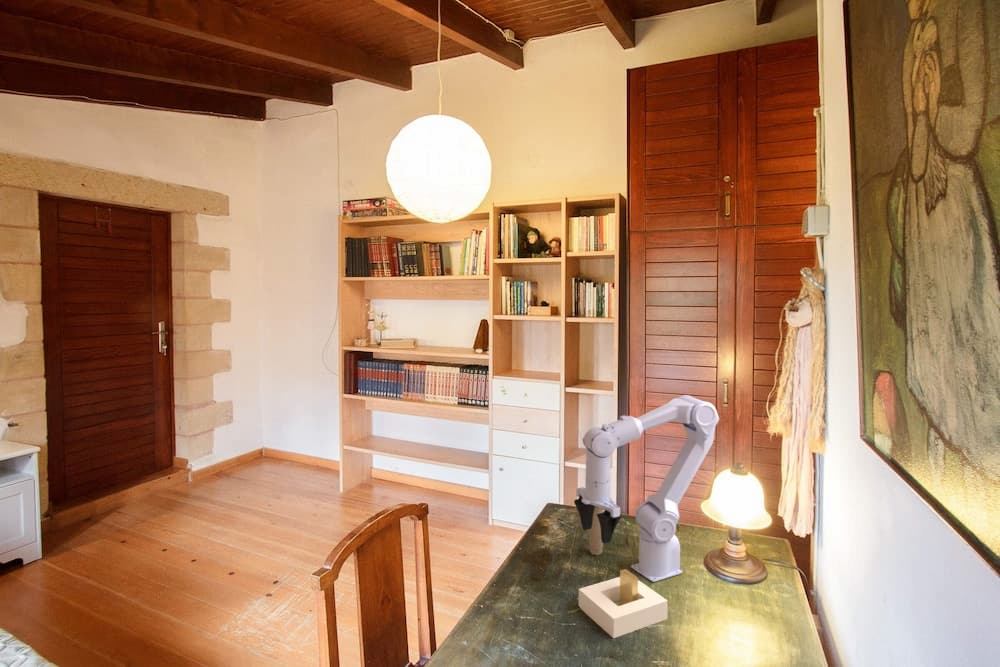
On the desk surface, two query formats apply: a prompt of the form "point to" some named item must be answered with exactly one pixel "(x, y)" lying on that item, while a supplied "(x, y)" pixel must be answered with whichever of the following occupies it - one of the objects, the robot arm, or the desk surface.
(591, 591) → the well block
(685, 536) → the desk surface
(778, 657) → the desk surface
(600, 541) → the handle
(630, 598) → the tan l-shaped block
